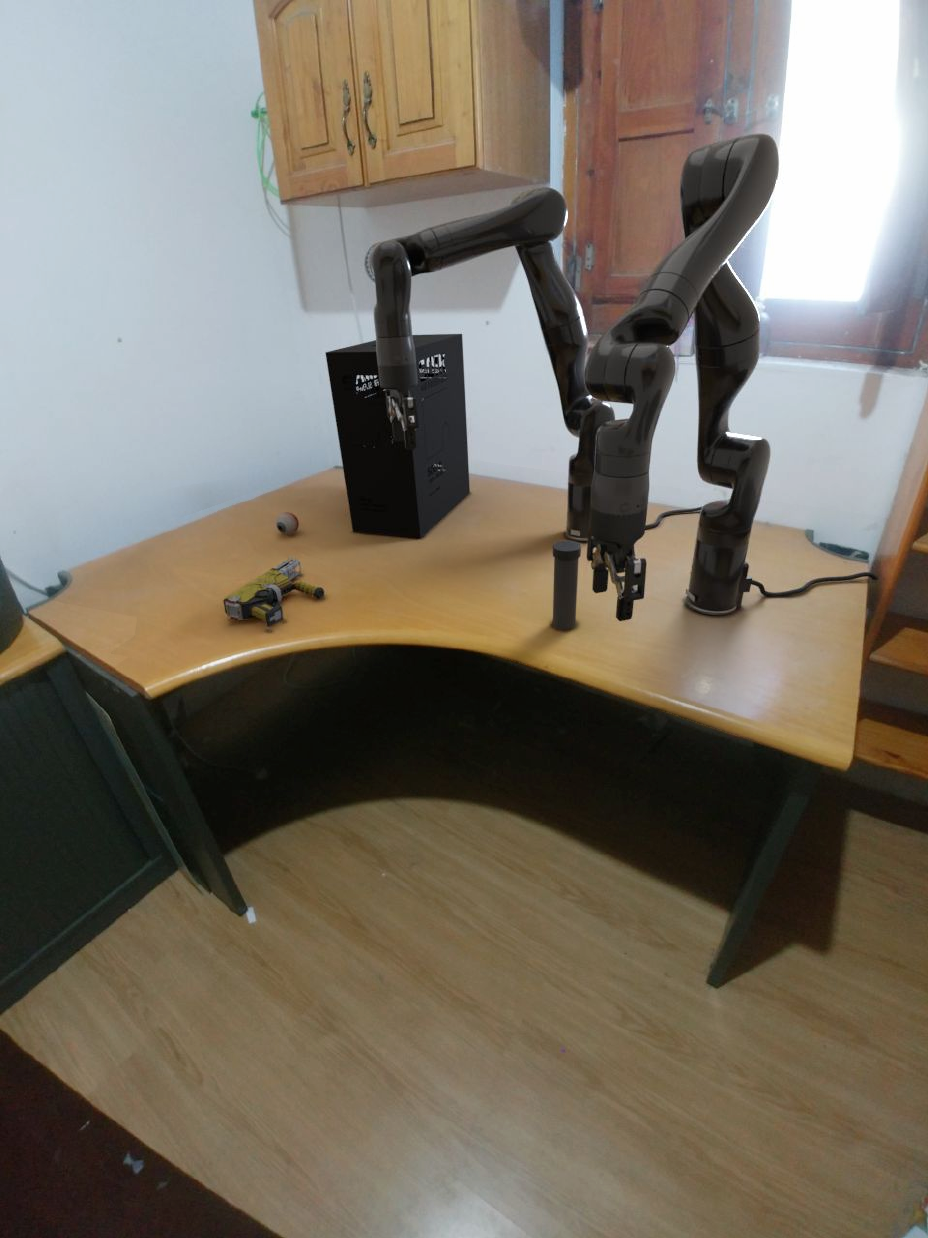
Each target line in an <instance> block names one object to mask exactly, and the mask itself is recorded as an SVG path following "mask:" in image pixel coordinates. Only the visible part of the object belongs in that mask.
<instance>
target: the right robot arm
mask: <svg viewBox="0 0 928 1238" xmlns="http://www.w3.org/2000/svg"><path fill="white" fill-rule="evenodd" d="M779 170H780V156H779V150H778V146H777V143H776V141H775V139H774V138H773V137H772V136H771V135H769V134H767V133H751V134H746V135H742V136H737V137H732V138H729V139H725V140H720V141H717V142H711V143H707V144H704V145H701V146H698V147H696V148H694V149H692V150H691V151H690V152H689V153H688V154H687V156H686V158H685V160H684V162H683V165H682V168H681V173H680V180H679V206H680V207H679V208H680V216H681V223H682V224H681V225H682V230H683V231H682V232H683V236H684V239H683V240H682V241H680V243H678V244H677V245H676V246H675V247H674V248H672V249H671V250H670V251H669V252H668V253H666V255H665V256H664V257H662V259H660V261H659V262H658V263H657V265H656V266H655V267H654V268H653V270H652V271H651V272H650V274H649V275H648V277H647V279H646V281H645V283H644V284H643V286H642V288H641V290H640V292H639V293H638V295H637V297H636V299H635V300H634V302H633V304H632V306H631V307H630V308H629V309H627V311H626V312H624V314H622V315H621V316H620V317H619V318H618V319H617V320H616V321H615V322H614V324H612V325H611V326H610V327H609V328H608V329H607V330H606V331H605V332H604V333H603V334H602V336H601V337H600V338H599V339H598V340H597V341H596V343H595V344H594V346H593V347H592V349H591V350H590V353H589V354H588V355H587V358H586V364H585V369H584V383H585V387H586V389H587V391H588V393H589V394H590V395H591V396H592V397H593V398H594V399H597V400H600V401H604V402H606V403H617V404H619V403H620V404H627V405H628V404H629V405H632V406H633V407H632V411H631V414H630V416H629V417H628V418H620V419H615V420H613V421H609V422H606V423H604V424H602V425H601V426H600V427H599V429H598V431H597V435H596V446H595V466H594V468H595V469H594V475H593V480H592V487H591V506H590V526H589V531H588V541H587V546H586V560H587V561H588V562H590V568H591V570H592V571H593V572H592V589H591V590H592V592H593V593H595V594H600V593H605V592H607V591H608V586H609V577H610V582H611V583H612V584H614V585H615V589H616V594H617V598H616V610H615V618H616V619H617V620H618V621H619V622H623V621H629V620H632V618H633V612H634V602H635V601H638V600H639V601H640V600H643V599H645V590H646V576H647V575H646V574H647V559H646V558H645V557H641V558H637V557H636V552H635V545H636V543H637V542H638V541H639V540H640V539H642V538H643V537H644V536H645V533H646V529H645V526H646V525H647V524H646V523H647V515H648V505H649V496H650V468H651V466H650V465H651V457H652V447H653V441H654V436H655V432H656V429H657V425H658V423H659V419H660V417H661V413H662V410H663V408H664V405H665V403H666V401H667V398H668V396H669V393H670V390H671V388H672V385H673V383H674V379H675V376H676V375H675V374H676V360H675V356H674V353H673V351H672V350H671V348H670V347H671V346H672V345H675V343H676V342H678V340H679V339H680V338H681V336H682V335H683V333H684V331H685V330H686V327H687V325H688V324H689V321H690V320H691V318H693V320H692V321H693V343H694V345H693V348H694V361H695V371H696V372H695V373H696V381H697V382H696V383H697V403H698V405H697V406H698V409H697V410H698V413H697V414H698V421H697V422H698V424H697V442H696V443H697V445H696V446H697V447H696V466H697V473H698V475H699V478H700V479H701V480H702V481H703V482H704V483H707V484H708V485H713V486H717V487H722V488H726V489H730V490H731V495H730V497H729V499H722V500H720V499H719V500H714V501H709V502H707V503H706V504H704V505H702V506H703V507H702V506H701V507H702V508H701V510H699V511H700V512H699V518H698V522H697V523H698V524H697V530H696V537H695V543H694V550H693V557H692V563H691V569H690V577H689V582H688V589H687V588H685V595H686V599H685V601H686V602H685V603H686V606H688V608H690V609H691V610H693V611H695V612H697V613H700V614H703V615H708V616H727V615H730V614H733V613H734V612H736V610H739V609H742V602H743V598H744V593H750V591H751V587H752V586H755V587H757V588H758V589H759V592H760V594H761V595H763V596H765V597H769V598H779V597H781V598H782V597H789V596H793V595H797V594H801V593H803V592H806V590H808V589H810V587H812V586H813V585H816V584H820V583H828V582H829V583H830V582H843V581H851V580H856V579H859V578H864V577H867V578H870V579H872V580H874V581H878V580H879V578H878V576H877V575H876V574H875V573H874V572H870V571H863V572H858V573H857V572H856V573H854V574H849V575H841V576H825V577H819V578H814V579H811V580H809V581H808V582H807V583H805V584H804V585H803V586H801V587H798V588H794V589H790V590H786V591H777V592H771V591H767V590H766V589H765V586H764V584H763V583H762V582H760V581H758V580H755V579H753V577H751V576H750V575H748V574H749V569H750V564H749V563H748V562H747V561H746V559H747V554H748V549H749V544H750V538H751V534H752V529H753V524H754V520H755V516H756V514H757V511H758V509H759V506H760V502H761V496H762V493H763V489H764V485H765V481H766V477H767V474H768V470H769V466H770V461H771V450H772V449H771V445H770V442H769V441H768V440H767V439H766V438H764V437H761V436H760V437H759V436H754V435H748V434H741V433H736V432H731V430H730V427H729V417H730V410H731V407H732V405H733V403H734V401H735V399H736V398H737V397H738V395H739V394H740V392H741V391H742V390H743V388H744V387H745V385H746V384H747V382H748V381H749V380H750V377H751V376H752V375H753V373H754V371H755V370H756V367H757V365H758V362H759V358H760V337H761V336H760V331H761V330H760V329H761V327H760V326H761V322H760V321H761V320H760V313H759V311H758V308H757V306H756V304H755V301H754V300H753V298H752V296H751V295H750V293H749V292H748V290H747V289H746V288H745V285H743V283H742V282H741V280H740V279H739V277H738V276H737V275H736V273H735V272H734V270H733V269H732V266H731V264H730V263H729V261H728V259H729V258H731V256H732V254H733V253H734V252H735V251H736V250H737V249H738V247H739V246H740V245H741V243H742V242H743V241H744V239H745V238H747V237H746V236H748V234H749V233H750V232H751V230H752V229H753V227H755V225H756V224H757V223H758V222H759V220H760V219H761V217H762V216H763V214H764V212H765V211H766V210H767V208H768V207H769V205H770V202H771V200H772V198H773V195H774V192H775V191H776V187H777V183H778V178H779ZM692 316H693V317H692ZM594 549H595V551H594ZM622 573H623V574H624V575H618V574H622Z"/></svg>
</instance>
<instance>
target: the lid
mask: <svg viewBox="0 0 928 1238" xmlns="http://www.w3.org/2000/svg"><path fill="white" fill-rule="evenodd" d="M581 556H582V545H581V543H580V542H579V541H576V540H572V539H563V540H558V541H555V542H553V544H552V557H553V558H554V557H555V558H556V559H559V560H574V559H577V558H580V557H581Z"/></svg>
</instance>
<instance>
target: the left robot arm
mask: <svg viewBox="0 0 928 1238" xmlns="http://www.w3.org/2000/svg"><path fill="white" fill-rule="evenodd" d="M568 217H569V209H568V204H567V201H566V199H565V198H564V196H563V195H562V194H561V192H559V190H557V189H555V188H553V187H548V186H540V187H535V188H531V189H528V190H525V191H522V192H520V193H518V194H517V195H515V196H514V198H513V199H512V200H511V202H510V204H509V205H507V206H505V207H503V208H502V207H501V208H499V209H496V210H493V211H490V212H489V211H488V212H486V213H482V214H477V215H472V216H468V217H463V218H462V217H461V218H459V219H454V220H449V221H446V222H443V223H440V224H436V225H433V226H429V227H426V228H423V229H421V230H419V231H416V232H415V233H412V234H409V235H404V236H400V237H395V238H391V239H387V240H384V241H379V242H375V243H373V244H372V245H371V246H370V247H369V248H368V249H367V251H366V252H365V255H364V257H363V258H364V259H363V268H364V271H365V274H366V276H367V278H369V280H371V282H373V283H374V287H375V298H376V299H375V300H376V301H375V304H374V307H373V325H374V333H375V340H376V354H377V363H378V372H379V380H380V386H381V388H383V389H385V393H386V404H387V416H388V418H390V421H391V423H392V428H393V437H394V440H395V441H403V440H405V448H406V449H407V450H412V449H416V447H417V446H416V435H415V430H416V428H419V422H418V413H417V403H416V397H415V396H413V397H411V396H410V392H409V389H410V388H411V387H415V386H416V385H417V384H418V380H417V369H416V357H415V347H414V342H413V336H412V335H413V328H412V316H411V310H410V309H411V297H412V277H415V276H418V275H423V274H430V273H435V272H439V271H442V270H445V269H449V268H452V267H454V266H455V267H456V266H458V265H461V264H463V263H466V262H469V261H471V260H474V259H477V258H479V257H482V256H485V255H488V254H491V253H495V252H498V251H500V250H504V249H507V248H511V247H514V249H515V250H516V253H517V256H518V258H519V260H520V263H521V266H522V268H523V271H524V274H525V277H526V280H527V283H528V286H529V291H530V295H531V298H532V301H533V305H534V308H535V311H536V315H537V319H538V324H539V328H540V331H541V334H542V337H543V341H544V345H545V349H546V352H547V355H548V357H549V361H550V365H551V369H552V372H553V375H554V378H555V381H556V384H557V386H556V387H557V389H558V395H559V401H560V406H561V412H562V418H563V422H564V426H565V428H566V429H567V431H568V432H569V434H571V435H572V436H573V437H576V438H578V447H577V452H576V453H574V454H572V455H570V456H569V459H568V468H567V469H568V473H567V501H566V502H567V503H566V527H565V536H566V537H567V538H568V539H569V540H571V541H576V542H583V543H584V542H586V543H587V542H588V531H589V526H590V506H591V487H592V480H593V475H594V469H595V468H594V466H595V446H596V435H597V431H598V429H599V427H600V426H601V425H602V424H604V423H606V422H609V421H613V420H616V414H615V410H614V408H613V406H612V405H611V404H610V403H609V402H607V401H601V400H597V399H595V398H593V397H592V396H591V395H590V394H589V393H588V391H587V389H586V387H585V383H584V369H585V365H586V361H587V358H588V349H589V333H588V327H587V323H586V319H585V315H584V311H583V308H582V305H581V302H580V300H579V297H578V295H577V294H576V292H575V290H574V289H573V287H572V285H571V284H570V282H569V280H568V279H567V277H566V276H565V274H564V272H563V271H562V269H561V267H560V263H559V261H558V259H557V256H556V252H555V248H554V244H553V242H554V241H555V240H557V239H558V238H559V237H560V236H561V234H562V233H563V232H564V230H565V228H566V227H567V222H568ZM409 420H410V421H411V423H409ZM703 506H704V505H702V506H699V507H694V508H685V509H683V508H682V509H673V510H667V511H664V512H662V513H660V514H659V515H658V517H657V519H656V521H655V522H653V523H650V524H646V526H645V530H646V529H650V528H655V527H656V526H659V524H660V523H661V522H662V518H663V517H665V516H669V515H673V514H683V513H694V512H698V511H701V508H702V507H703Z"/></svg>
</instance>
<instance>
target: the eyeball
mask: <svg viewBox="0 0 928 1238" xmlns="http://www.w3.org/2000/svg"><path fill="white" fill-rule="evenodd" d="M299 525H300V522H299V519H298V517H297V516H296V515H295V514H294V513H292V512H287V511H286V512H282V513H280V514H279V515H278V516H277V517H276V520H275V527H276V529H277V530H278V531H279V532H280V533H281V534H282V535H285V536H286V535H287V536H289V535H293V534H295V533H296V532H297V531H298V529H299Z"/></svg>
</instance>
